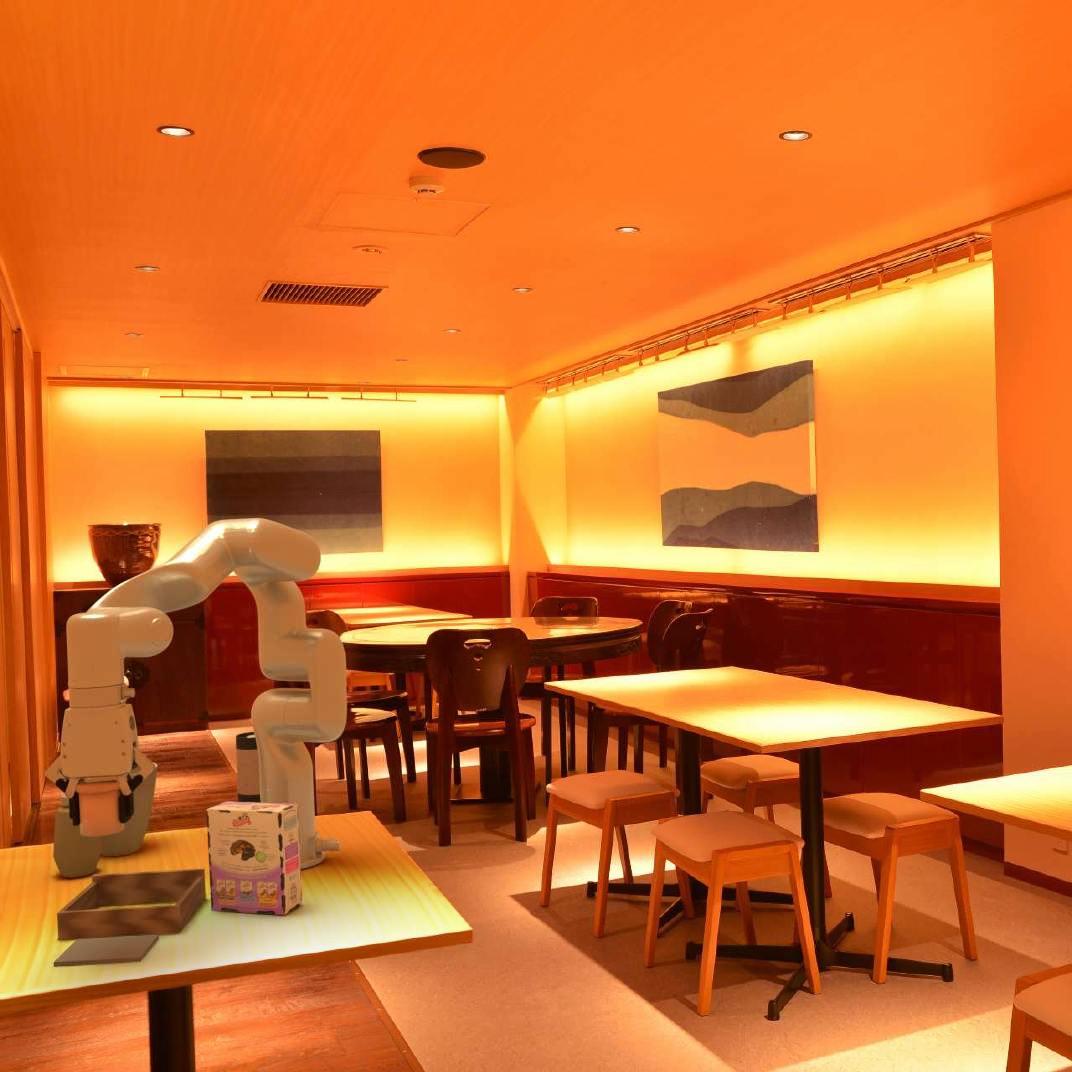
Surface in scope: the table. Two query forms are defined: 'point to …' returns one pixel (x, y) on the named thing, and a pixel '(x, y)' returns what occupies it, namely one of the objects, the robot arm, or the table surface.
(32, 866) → the table surface
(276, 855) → the candy box
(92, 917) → the frame
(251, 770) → the travel mug
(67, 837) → the squeeze bottle
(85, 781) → the terracotta pot
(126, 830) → the plant pot
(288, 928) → the table surface
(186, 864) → the table surface
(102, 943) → the mat
